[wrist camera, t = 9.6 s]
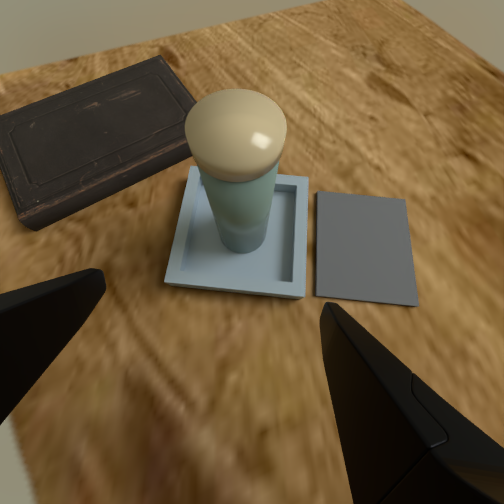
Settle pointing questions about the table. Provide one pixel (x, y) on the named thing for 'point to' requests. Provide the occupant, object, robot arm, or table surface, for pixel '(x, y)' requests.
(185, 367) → the table surface
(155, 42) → the table surface
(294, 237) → the dish
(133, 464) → the table surface
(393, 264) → the mat
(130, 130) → the hardcover book
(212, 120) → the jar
